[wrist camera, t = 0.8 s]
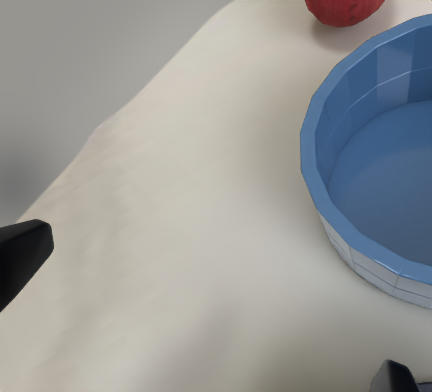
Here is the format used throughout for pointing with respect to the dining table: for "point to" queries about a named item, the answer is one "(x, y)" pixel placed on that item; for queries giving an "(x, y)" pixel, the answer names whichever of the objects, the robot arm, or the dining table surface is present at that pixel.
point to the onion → (342, 11)
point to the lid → (425, 386)
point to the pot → (377, 159)
